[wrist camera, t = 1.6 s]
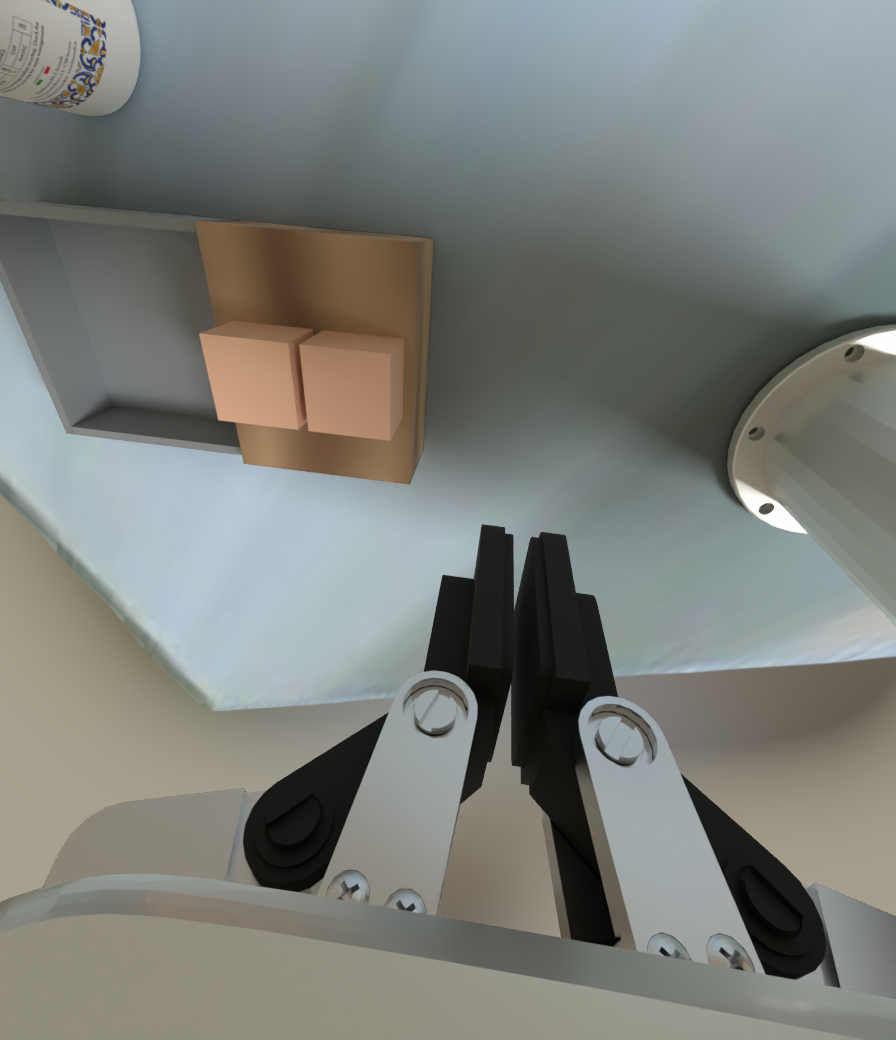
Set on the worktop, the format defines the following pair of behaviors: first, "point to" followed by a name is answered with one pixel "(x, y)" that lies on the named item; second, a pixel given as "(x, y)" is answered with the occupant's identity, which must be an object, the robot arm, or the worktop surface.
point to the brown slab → (328, 325)
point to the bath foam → (69, 54)
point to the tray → (116, 320)
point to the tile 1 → (353, 384)
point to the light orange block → (256, 373)
